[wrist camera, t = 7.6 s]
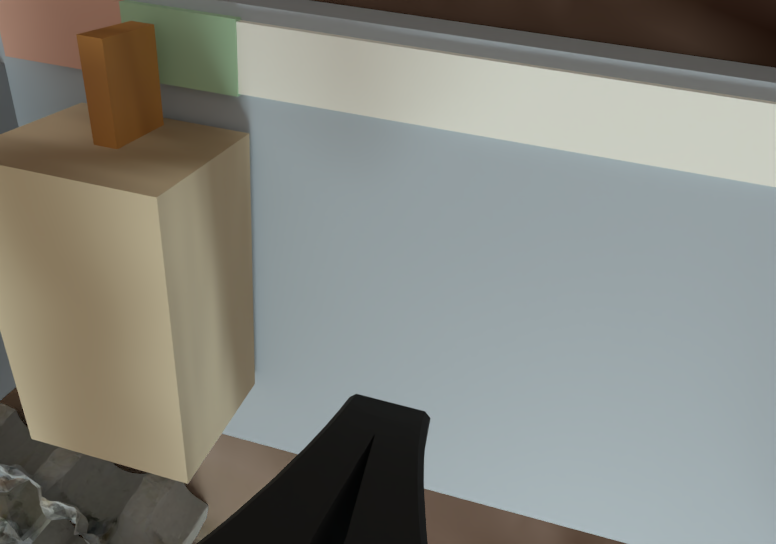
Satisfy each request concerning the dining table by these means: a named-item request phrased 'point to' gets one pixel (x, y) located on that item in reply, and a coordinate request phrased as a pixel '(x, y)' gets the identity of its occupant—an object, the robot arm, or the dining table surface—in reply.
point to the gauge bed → (486, 246)
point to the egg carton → (85, 497)
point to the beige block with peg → (127, 267)
